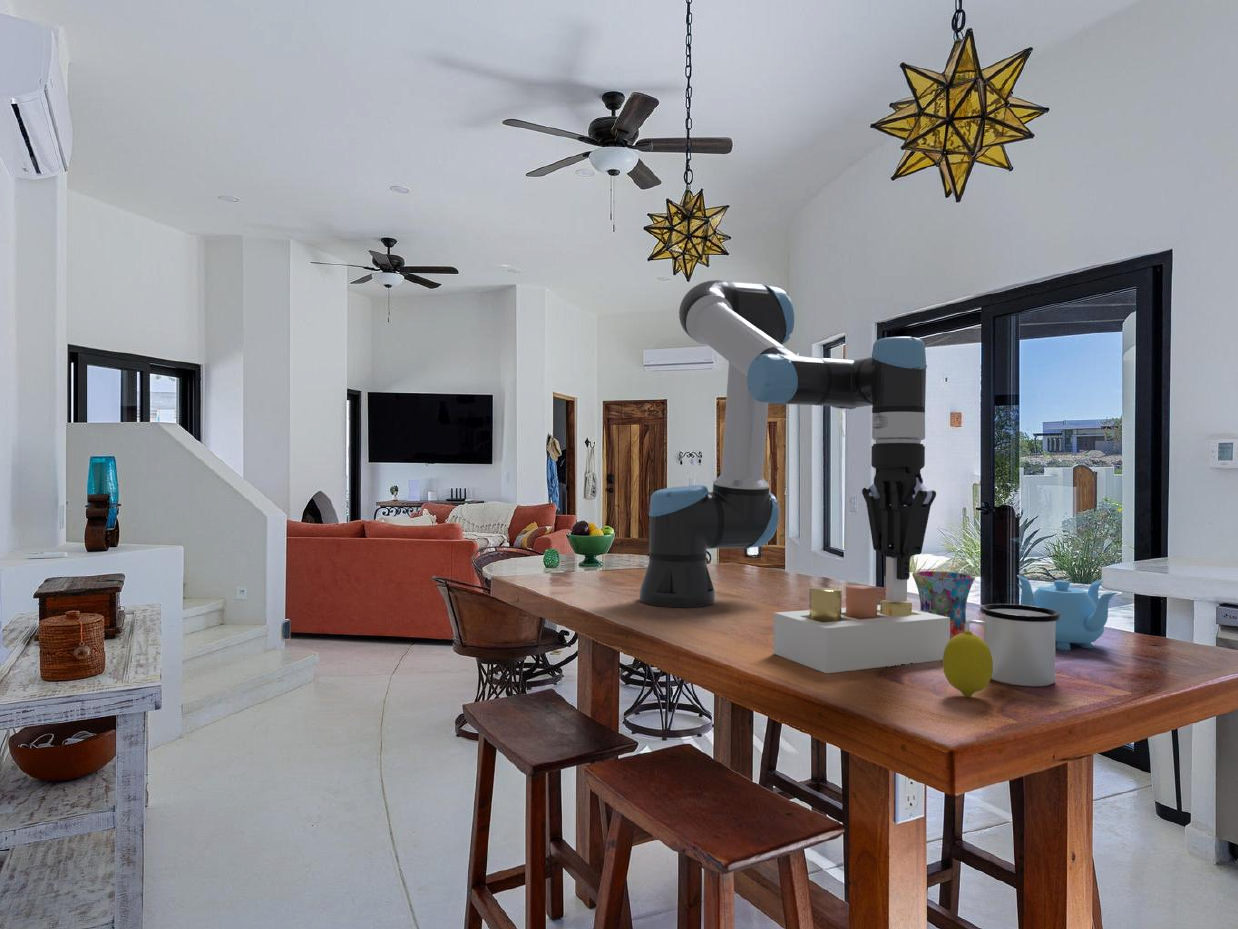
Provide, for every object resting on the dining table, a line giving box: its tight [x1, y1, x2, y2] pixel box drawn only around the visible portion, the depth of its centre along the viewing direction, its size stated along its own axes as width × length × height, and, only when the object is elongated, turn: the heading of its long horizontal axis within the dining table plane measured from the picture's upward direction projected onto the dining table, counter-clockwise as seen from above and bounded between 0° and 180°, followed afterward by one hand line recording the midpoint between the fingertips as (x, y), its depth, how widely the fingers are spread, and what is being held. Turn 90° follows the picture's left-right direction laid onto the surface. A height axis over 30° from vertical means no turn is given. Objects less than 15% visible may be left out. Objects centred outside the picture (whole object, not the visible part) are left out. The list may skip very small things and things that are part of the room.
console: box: [773, 604, 950, 674], centre depth 115 cm, size 12×22×6 cm, turn 114°
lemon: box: [942, 630, 993, 698], centre depth 95 cm, size 6×6×8 cm
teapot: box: [1016, 574, 1118, 651], centre depth 125 cm, size 13×13×10 cm
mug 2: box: [965, 603, 1061, 688], centre depth 105 cm, size 12×10×9 cm
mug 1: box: [911, 570, 976, 639], centre depth 127 cm, size 12×9×11 cm
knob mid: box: [845, 585, 879, 620], centre depth 115 cm, size 4×4×5 cm
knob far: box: [879, 599, 913, 617], centre depth 118 cm, size 4×4×5 cm
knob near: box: [808, 587, 843, 623], centre depth 113 cm, size 4×4×5 cm
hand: (896, 600), depth 118 cm, fingers closed
